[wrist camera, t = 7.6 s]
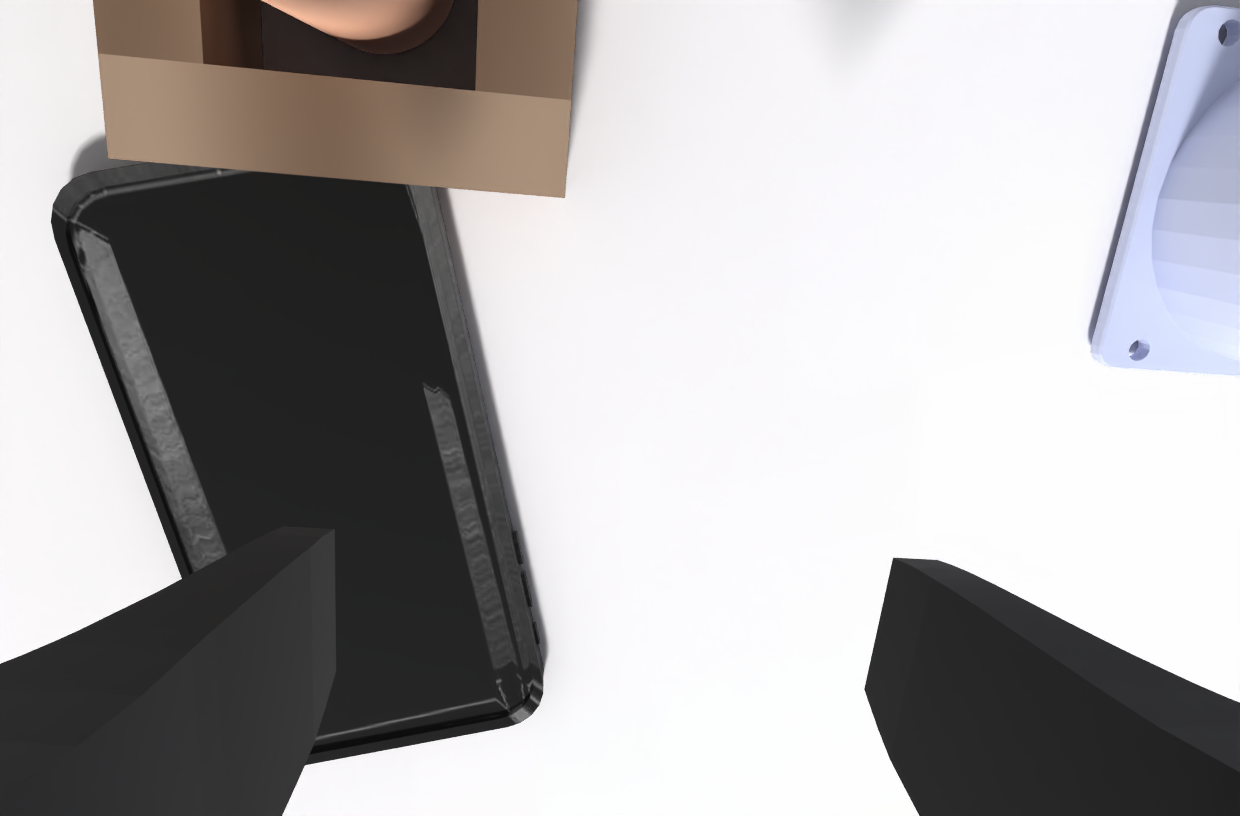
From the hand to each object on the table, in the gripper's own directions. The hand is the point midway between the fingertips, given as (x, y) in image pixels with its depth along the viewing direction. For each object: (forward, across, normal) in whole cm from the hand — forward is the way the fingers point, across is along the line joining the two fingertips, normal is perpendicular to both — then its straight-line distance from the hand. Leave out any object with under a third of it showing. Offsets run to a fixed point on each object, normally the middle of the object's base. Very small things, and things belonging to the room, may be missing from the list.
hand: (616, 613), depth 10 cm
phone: (+10, +6, +2) cm, 12 cm away
